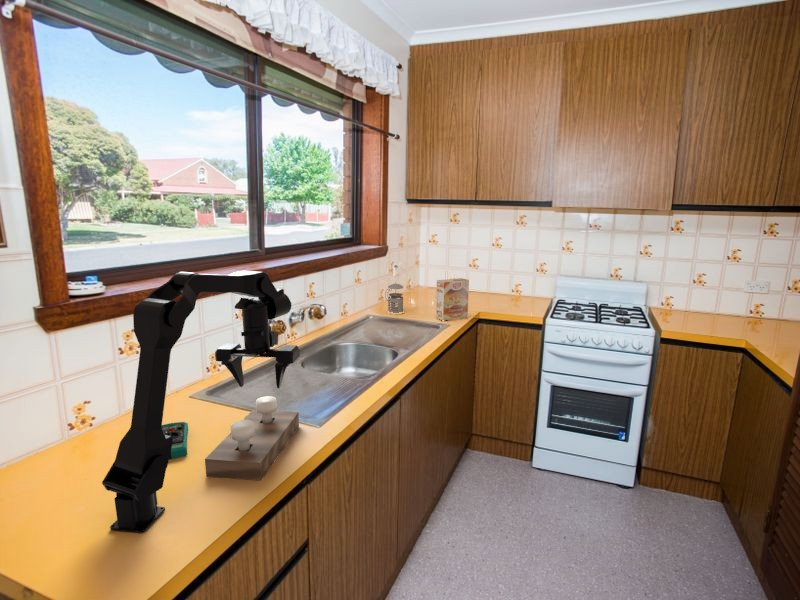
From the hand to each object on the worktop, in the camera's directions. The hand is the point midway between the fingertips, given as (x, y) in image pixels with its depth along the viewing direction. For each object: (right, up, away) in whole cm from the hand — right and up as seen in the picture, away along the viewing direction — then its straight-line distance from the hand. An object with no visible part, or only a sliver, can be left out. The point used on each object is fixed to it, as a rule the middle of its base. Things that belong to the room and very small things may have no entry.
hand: (260, 387), depth 113 cm
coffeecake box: (+59, +11, +120) cm, 135 cm away
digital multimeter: (-21, -14, -2) cm, 25 cm away
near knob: (0, -13, -11) cm, 16 cm away
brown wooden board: (0, -14, -4) cm, 14 cm away
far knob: (+1, -10, +2) cm, 10 cm away
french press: (+31, +14, +133) cm, 138 cm away
